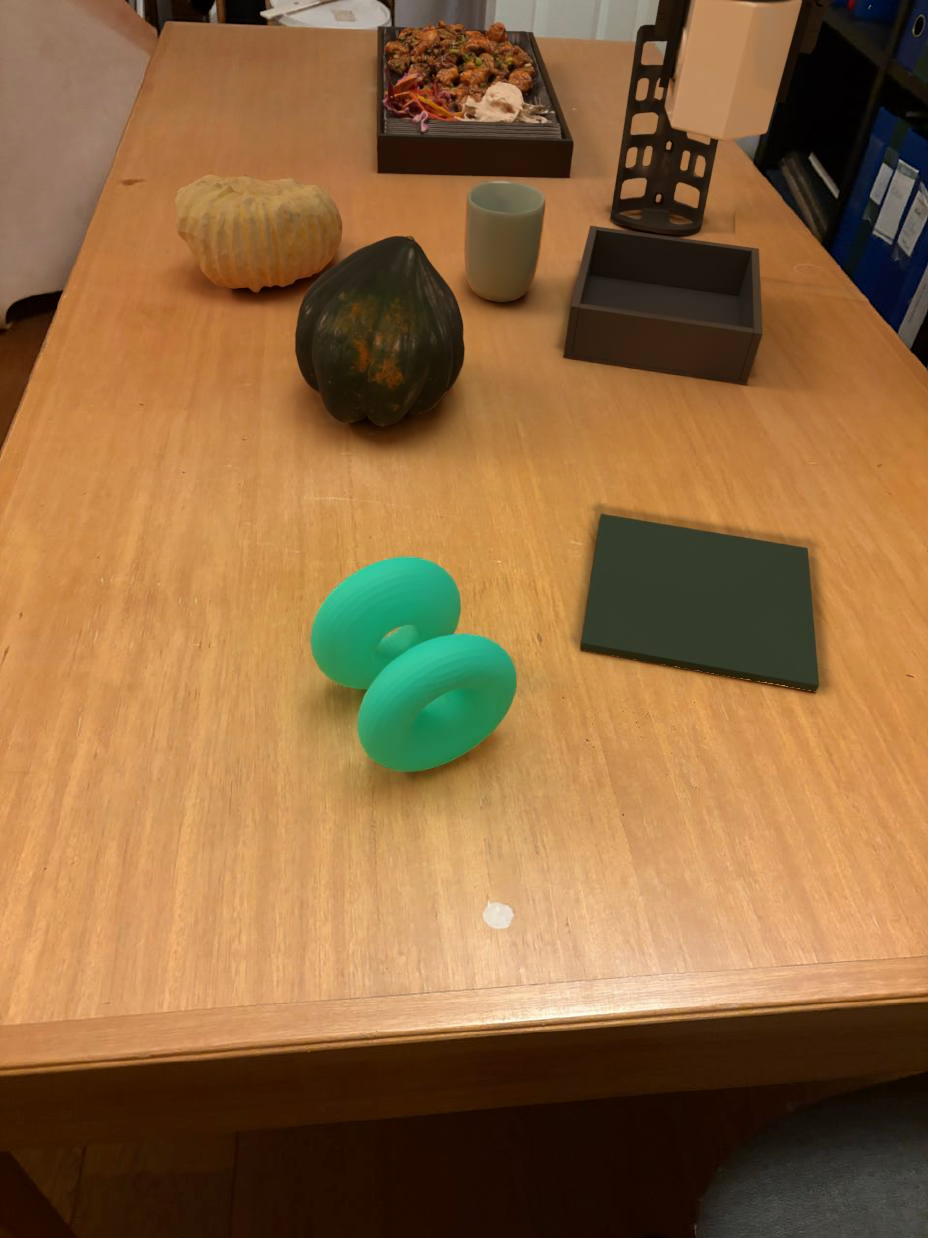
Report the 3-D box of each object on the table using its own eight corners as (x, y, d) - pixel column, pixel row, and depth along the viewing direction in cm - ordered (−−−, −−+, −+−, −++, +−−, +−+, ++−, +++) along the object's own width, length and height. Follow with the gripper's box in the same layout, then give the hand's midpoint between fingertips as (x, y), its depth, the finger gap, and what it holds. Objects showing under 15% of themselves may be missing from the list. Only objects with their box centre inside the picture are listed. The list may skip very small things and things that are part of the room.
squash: (241, 375, 75) (358, 252, 67) (291, 293, 86) (398, 178, 77) (371, 486, 81) (494, 386, 73) (403, 397, 92) (513, 301, 83)
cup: (453, 304, 96) (458, 206, 88) (471, 270, 101) (476, 175, 94) (527, 316, 95) (538, 218, 87) (541, 281, 100) (552, 186, 93)
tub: (745, 296, 100) (759, 248, 96) (746, 385, 88) (763, 333, 84) (582, 274, 102) (590, 225, 98) (563, 357, 90) (570, 305, 86)
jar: (658, 99, 80) (689, -72, 71) (752, 105, 80) (795, -65, 71) (671, 138, 74) (707, -44, 65) (773, 145, 74) (823, -36, 65)
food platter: (569, 177, 119) (580, 89, 112) (377, 172, 118) (375, 82, 110) (530, 63, 150) (537, -12, 142) (377, 57, 148) (376, -19, 140)
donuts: (444, 636, 64) (450, 527, 57) (517, 742, 58) (534, 636, 51) (309, 685, 61) (296, 576, 53) (372, 804, 55) (368, 699, 48)
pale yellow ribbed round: (357, 309, 99) (324, 218, 106) (359, 220, 90) (324, 127, 97) (195, 328, 95) (172, 232, 101) (181, 237, 85) (157, 138, 92)
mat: (804, 555, 72) (807, 547, 71) (815, 693, 62) (819, 685, 62) (599, 520, 74) (600, 513, 73) (579, 650, 64) (581, 642, 63)
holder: (609, 231, 109) (642, 31, 95) (604, 210, 114) (635, 19, 101) (703, 238, 109) (749, 40, 96) (693, 217, 114) (735, 28, 101)
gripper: (637, -318, 57) (585, 87, 74) (998, -290, 55) (860, 122, 71) (647, -321, 62) (595, 59, 79) (977, -296, 60) (853, 90, 76)
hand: (721, 89), depth 75 cm, fingers closed on jar, 8 cm apart
